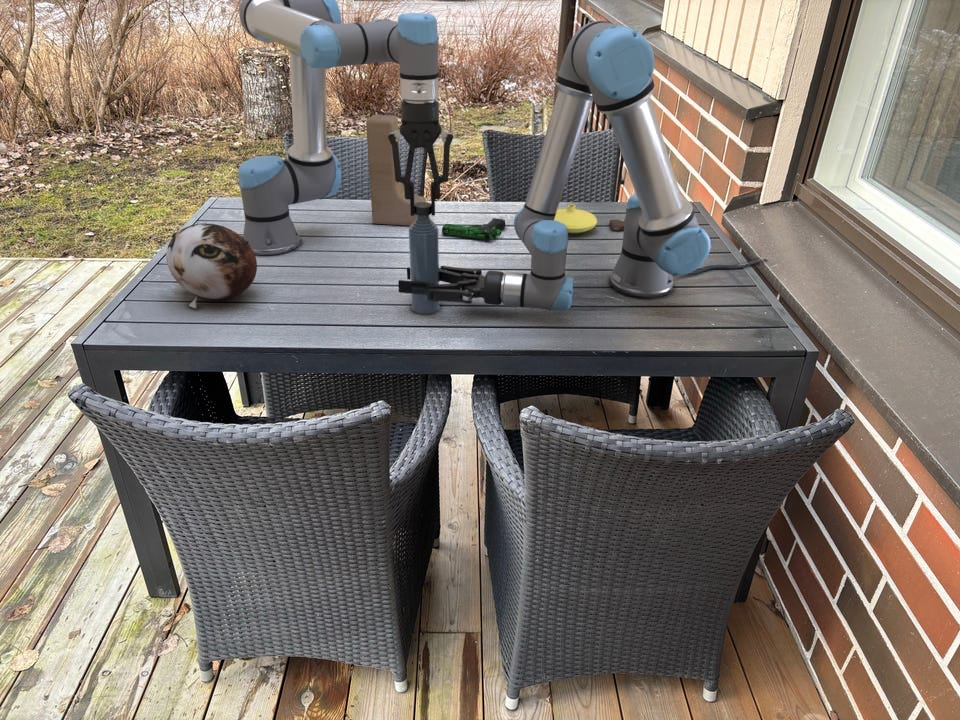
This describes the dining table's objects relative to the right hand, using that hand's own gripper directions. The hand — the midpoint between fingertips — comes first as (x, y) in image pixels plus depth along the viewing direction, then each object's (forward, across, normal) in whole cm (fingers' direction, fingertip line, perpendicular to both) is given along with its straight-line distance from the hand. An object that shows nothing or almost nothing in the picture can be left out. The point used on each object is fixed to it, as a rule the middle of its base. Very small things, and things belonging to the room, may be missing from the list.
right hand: (403, 279), depth 163 cm
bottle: (-5, 0, -7) cm, 8 cm away
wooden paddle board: (-59, +65, -7) cm, 87 cm away
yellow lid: (-34, +59, -7) cm, 68 cm away
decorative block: (+16, +54, -7) cm, 57 cm away
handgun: (-8, +50, -7) cm, 51 cm away
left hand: (-5, 0, +16) cm, 17 cm away
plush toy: (+44, -4, -7) cm, 45 cm away
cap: (-5, 0, +18) cm, 18 cm away
